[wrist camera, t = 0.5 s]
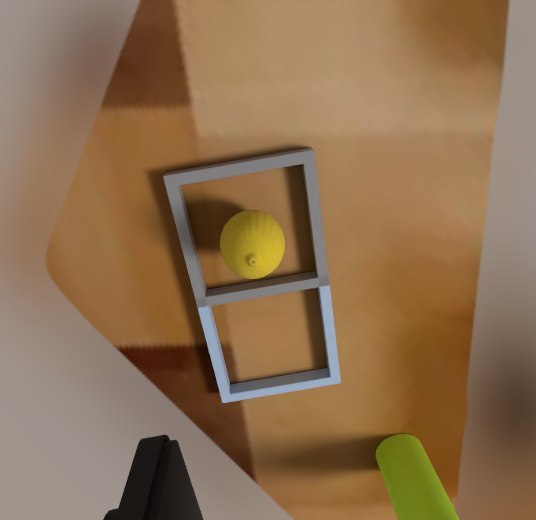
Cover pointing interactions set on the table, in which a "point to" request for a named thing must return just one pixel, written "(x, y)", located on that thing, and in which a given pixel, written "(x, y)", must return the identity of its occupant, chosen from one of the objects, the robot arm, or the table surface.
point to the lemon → (252, 244)
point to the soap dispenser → (412, 480)
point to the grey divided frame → (263, 286)
